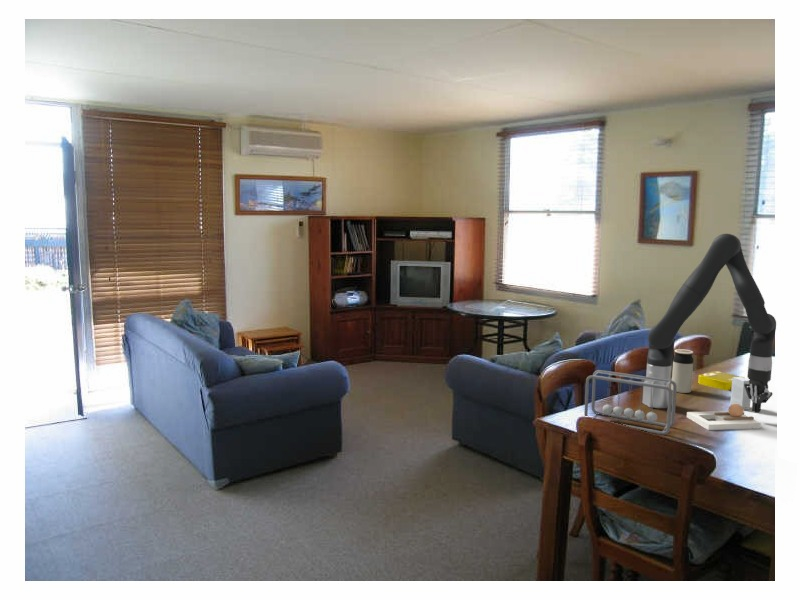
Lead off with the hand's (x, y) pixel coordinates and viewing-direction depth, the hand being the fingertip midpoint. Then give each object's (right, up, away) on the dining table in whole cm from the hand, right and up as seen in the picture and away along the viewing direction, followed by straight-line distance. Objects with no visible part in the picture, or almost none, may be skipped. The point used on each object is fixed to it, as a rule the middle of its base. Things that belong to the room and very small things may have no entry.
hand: (756, 412), depth 229 cm
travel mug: (-10, +2, +39) cm, 41 cm away
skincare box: (+3, -2, +17) cm, 17 cm away
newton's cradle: (-49, -4, -2) cm, 49 cm away
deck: (-13, -4, -1) cm, 14 cm away
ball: (-8, +1, -1) cm, 8 cm away
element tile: (+13, +3, +49) cm, 51 cm away
